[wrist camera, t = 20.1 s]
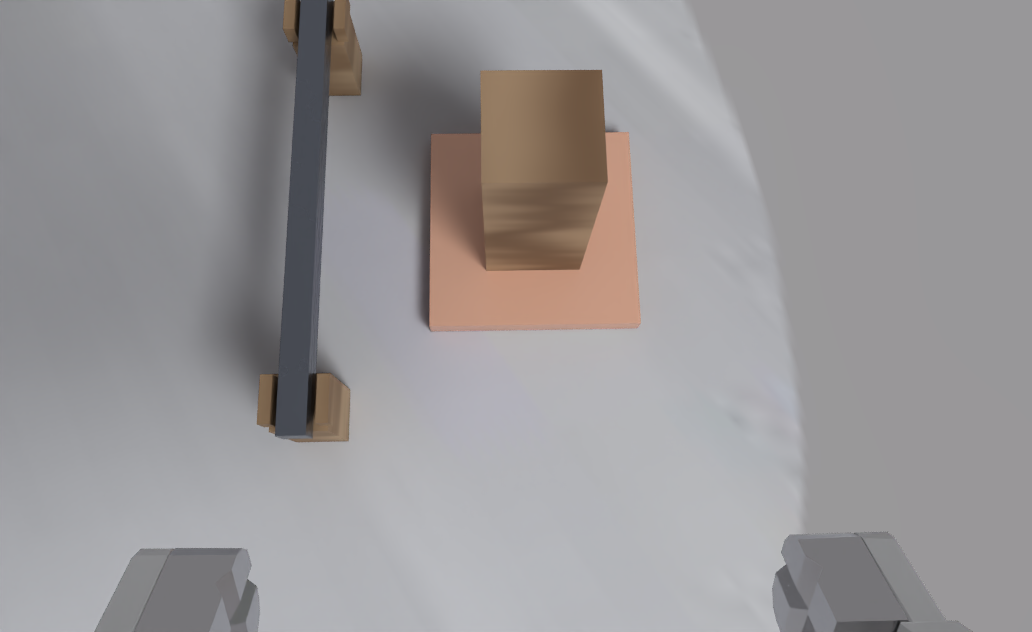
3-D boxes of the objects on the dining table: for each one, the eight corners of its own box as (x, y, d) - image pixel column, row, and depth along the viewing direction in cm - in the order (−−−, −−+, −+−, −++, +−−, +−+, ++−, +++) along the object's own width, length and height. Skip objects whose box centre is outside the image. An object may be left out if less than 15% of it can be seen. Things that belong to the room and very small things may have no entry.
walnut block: (486, 270, 37) (481, 183, 27) (485, 184, 38) (480, 70, 28) (579, 269, 37) (608, 181, 27) (576, 183, 38) (602, 70, 28)
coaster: (431, 331, 37) (429, 326, 36) (432, 143, 40) (431, 133, 39) (637, 328, 37) (640, 323, 36) (625, 141, 40) (628, 132, 39)
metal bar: (283, 439, 31) (274, 435, 30) (308, -5, 37) (301, -21, 35) (312, 438, 31) (305, 435, 30) (333, -4, 37) (328, -22, 35)
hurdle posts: (292, 442, 36) (256, 429, 30) (313, 55, 41) (285, -13, 35) (352, 441, 36) (327, 428, 30) (365, 55, 41) (346, -13, 36)
